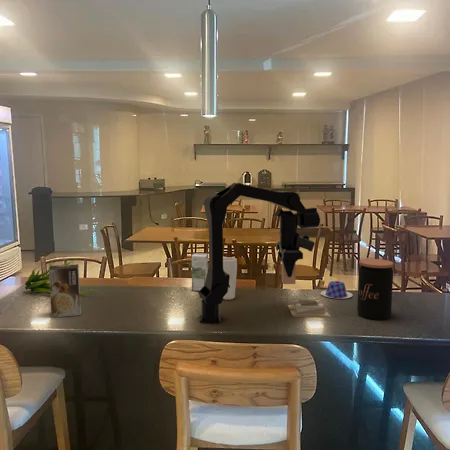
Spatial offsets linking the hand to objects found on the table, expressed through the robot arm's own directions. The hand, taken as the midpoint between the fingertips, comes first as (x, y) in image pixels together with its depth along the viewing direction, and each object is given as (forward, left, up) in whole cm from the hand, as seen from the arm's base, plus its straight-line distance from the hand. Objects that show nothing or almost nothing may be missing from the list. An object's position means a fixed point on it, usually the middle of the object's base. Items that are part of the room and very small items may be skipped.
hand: (288, 275), depth 146 cm
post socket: (0, -7, -13) cm, 14 cm away
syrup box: (+28, +31, -13) cm, 44 cm away
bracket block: (0, 0, -3) cm, 2 cm away
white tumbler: (+16, +20, -13) cm, 29 cm away
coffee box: (-2, +74, -13) cm, 75 cm away
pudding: (+20, -22, -13) cm, 32 cm away
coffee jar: (-4, -28, -13) cm, 31 cm away
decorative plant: (+21, +83, -13) cm, 87 cm away
